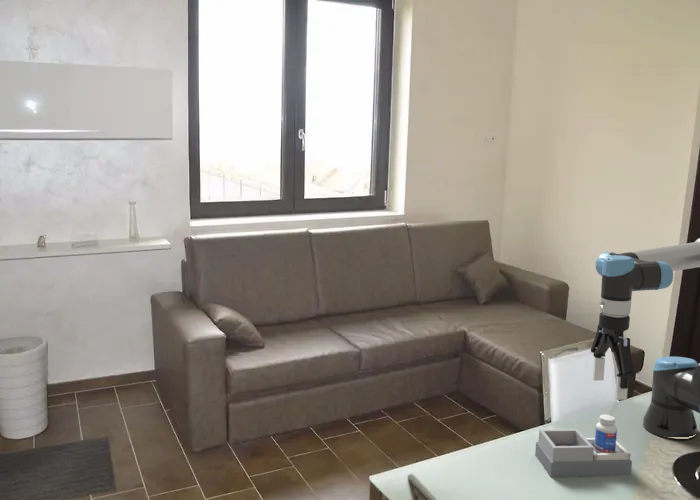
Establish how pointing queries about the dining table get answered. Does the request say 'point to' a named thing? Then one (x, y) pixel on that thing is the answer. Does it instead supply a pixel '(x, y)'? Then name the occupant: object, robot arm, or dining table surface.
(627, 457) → the grey compartment organizer
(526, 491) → the dining table surface
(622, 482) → the dining table surface
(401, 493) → the dining table surface
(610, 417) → the pill bottle
